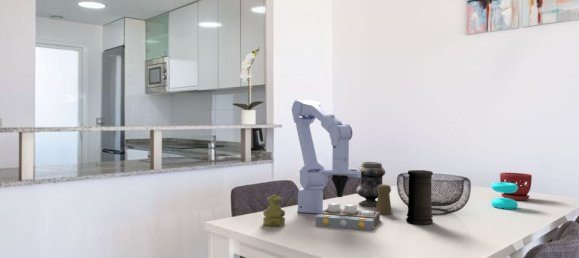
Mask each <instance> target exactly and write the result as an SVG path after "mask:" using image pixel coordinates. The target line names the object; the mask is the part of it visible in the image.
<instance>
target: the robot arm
mask: <svg viewBox="0 0 579 258" xmlns="http://www.w3.org/2000/svg"><path fill="white" fill-rule="evenodd" d="M291 113H292V119H293V122H294V123H295V126H296V131H297V137H298V140H299V146H300V151H301V154H302V161H303V166H302V167H301V169H300V170H299V182H300V186H301V187H300V188H299V189H298V193H297V210H296V212H297V213H308V214H317V215H319V214H321V212H323V211H324V210H326V209H327V208H324V189H325V187H326V186H327V185H328V179H329V177H328V176H330V177H331V181H332V183H333V185H334V187H335V191H336V195H337V198H343V195H344V190H345V187H346V185H347V182H348V180H349V178H359V179H360V177H361V172H358V171H357V170H355V171H354V170H349V159H350V158H349V156H350V154H349V152H350V151H349V150H350V149H349V148H350V145H349V144H350V141H351V139H352V137H353V128H352V127H351V125H350V124H343V122H342V121H341V120H339V119H338V118H336V117H335V114H332V113H331V114H328V113H326V111H325V110H323V108H322V107H321V103H320V102H318V101H317V100H299V99H295V100H294V101H293V103H292V106H291ZM316 119H317V120H318V121H319V122H320V126H321V127H322V128H323V129H324V130H325V131H326V132H327V133H328V134H329V138H330V145H331V146H332V169H325V167H324V166H323V165H321V164H320V163H319V162H318V159H317V155H316V150H315V145H314V144H315V143H314V140H313V136H312V132H311V127H310V126H311V124H313V123H314V122H315V120H316Z"/></svg>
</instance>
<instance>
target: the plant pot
mask: <svg viewBox="0 0 579 258" xmlns="http://www.w3.org/2000/svg"><path fill="white" fill-rule="evenodd" d="M532 177H533V175H532V174H529V173H522V172H521V173H520V172H500V173H499V180H500V181H499V182H505V183H513V184H516V185H517V186H518V190H517V191H516V192H513V193H501V194H500V195H501V196H502V197H501V198H503V197H504V198H509V199H513V200H515V201H516V200H518V201H526V199H527V200H529V198H530V195H528V194H529V192H530V191H531V188H532V180H533V179H532Z"/></svg>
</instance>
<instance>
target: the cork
mask: <svg viewBox="0 0 579 258" xmlns="http://www.w3.org/2000/svg"><path fill="white" fill-rule="evenodd" d="M391 191H392V188H391V186H390V185H388V184H382V185H379V186H378V187H377V192H378V198H377V199H376V201H377V206H375V207H376V208H375V212H380V215H381V216H390V215H392V214H393V213H392V206H391V197H390V193H391Z"/></svg>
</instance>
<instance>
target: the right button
mask: <svg viewBox="0 0 579 258" xmlns="http://www.w3.org/2000/svg"><path fill="white" fill-rule="evenodd" d="M374 212H375V211H374ZM374 212H373V210H361V215H370V216H374Z"/></svg>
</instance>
